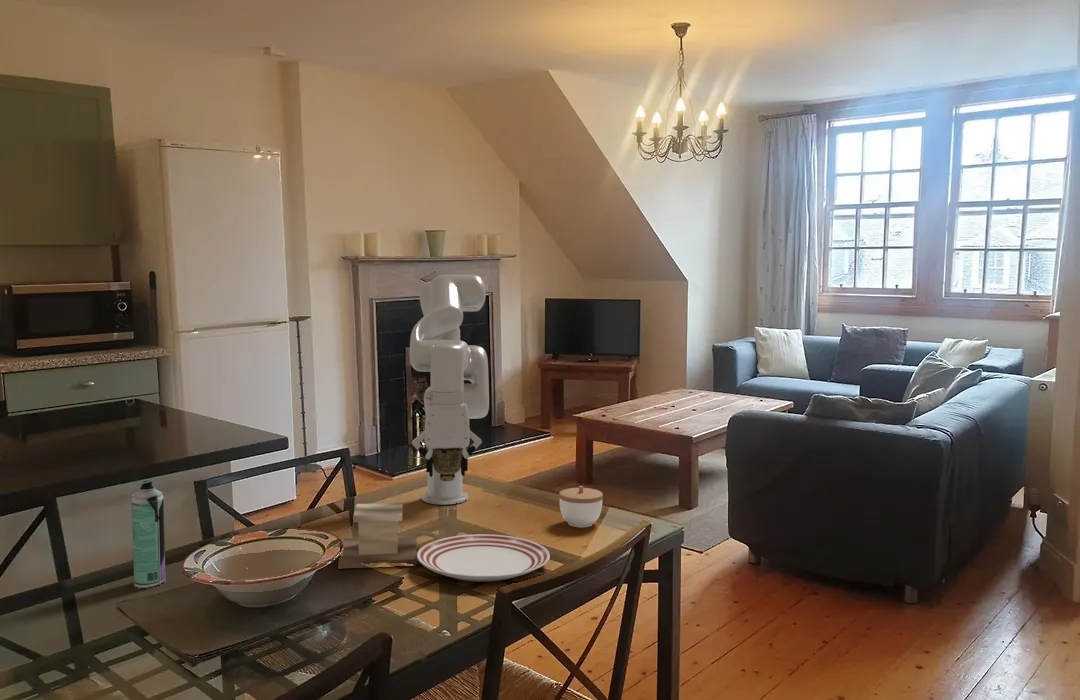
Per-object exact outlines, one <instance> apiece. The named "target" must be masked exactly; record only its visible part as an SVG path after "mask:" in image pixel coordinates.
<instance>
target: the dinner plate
mask: <svg viewBox="0 0 1080 700" xmlns="http://www.w3.org/2000/svg"><path fill="white" fill-rule="evenodd" d="M550 555H551V554H550V551H549V550H548V549H547V548H546V547H544V546H543V545H541V544H539V543H538V542H536V541H532V540H529V539H525V538H523V537H522V538H521V537H517V536H511V535H510V536H509V535H502V534H488V533H487V534H486V533H484V534H483V533H482V534H481V533H478V534H462V535H454V536H449V537H448V536H447V537H445V538H444V537H443V538H439V539H437V540H433V541H432V542H429V543H426V544H424V545H423V546H422V547H420V549H418V550H417V561H418V562H419V563H420V564H421V565H422V566H424V567H425V568H426V569H428V570H430V571H433V572H434V573H437V574H438V575H439V574H440V575H442V576H445V577H447V578H448V577H449V578H453V579H455V580H460V581H466V582H477V583H478V582H479V583H486V582H498V581H499V582H500V581H506V580H510V579H514V578H517V577H520V576H523V575H526V574H529V573H532V572H533V571H536V570H538V569H539V568H542V567H543V566H544V565H546V564H548V562H549V561H550V557H551V556H550Z"/></svg>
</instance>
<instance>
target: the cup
mask: <svg viewBox="0 0 1080 700" xmlns="http://www.w3.org/2000/svg"><path fill="white" fill-rule="evenodd" d="M462 451H463V448H462V450H461V449H460V448H459V449H433V454H432V459H433V466H434V469H435V471H436V472H437V473H439V474H440V476H439V478H440V480H441V481H445V482H449V481H453V480H454V479H455V473H457V472H458V471H459V470H460V468H461V463H462V456H463V454H462Z"/></svg>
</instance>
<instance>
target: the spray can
mask: <svg viewBox="0 0 1080 700" xmlns="http://www.w3.org/2000/svg"><path fill="white" fill-rule="evenodd" d="M131 497H132V498H131V528H132V531H131V533H132V556H133V557H132V560H133V561H132V564H133V568H132V569H133V586H134V587H135V588H136V587H137V589H141V588H144V587H150V586H154V585H157V584H159V583H161V582H163V581H164V580H165V581H166V551H165V550H166V549H165V548H166V547H165V516H164V515H165V512H164V511H165V510H164V508H165V507H164V495H163V491H161V490H159V489H156V487H155V486H154V485H153V481H152V480H144V481H143V482H142V483H141V486H140V487H139V489H138V490H137V491H136V492H134V493H133V494H131Z"/></svg>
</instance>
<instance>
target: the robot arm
mask: <svg viewBox="0 0 1080 700" xmlns="http://www.w3.org/2000/svg"><path fill="white" fill-rule="evenodd" d="M486 292H487V291H486V286H485V282H484V280H483V279H482V278H481V277H480V276H479V275H476V274H441V275H436V277H434V278H433V279H432V280H431V281H430V280H429V281H426V282H425V283H424V282H423V284H422V285H420V288H419V303H420V308H421V311H422V314H423V317H421V319H419V320H417V323H416V324H414V326H413V328H412V331H411V334H410V339H409V340H410V341H409V362H410V366H411V367H412V368H413V370H415V371H416V372H420V373H421V372H423V373H424V372H426V373H427V372H428V373H430V386H428V387H427V388H426V389H425V391H424V393H423V394H424V395H423V405H424V410H425V418H424V420H425V421H424V430H423V431H422V432H421V433H420V434H418V435H417V436H416V437H414V439H413V440H412V441H411V445H412V446H413V447H414V448H415V449H416V450H417V451H418V452H419V453H420V454H421V456H423V458H425V462H426V464H425V467H426V468H425V469H426V470H425V471H426V473H427V475H426V476H427V477H426V480H427V481H426V483H427V484H426V485H427V486H426V487H427V489H426V490H427V491H426V492H423V493H422V494H421V501H423V502H424V503H427V504H431V505H438V506H443V505H444V506H447V505H455V504H456V503H457V504H460V503H464V502H466V501H468V499H469V494H468V493H467V492H466V491H463V477H465V474H466V472H468V468H469V467H468V464H469V461H468V459H469V458H470V457H471V456H472V454H473V453H474V452H476V450H477V449H478V448H479V447H480V445H481V444H482V439H481V438H480V437H479V436H478V435H476V434H475V433H474V432H473V431H472V430H471V428H470V420H471V419H472V420H473V419H475V420H477V419H478V420H479V419H483V418H485V417H486V416H487V415H488V413H489V409H490V391H489V390H490V388H489V387H490V385H489V380H490V379H489V362H488V361H489V359H488V355H487V352H486V350H485V349H484V348H483V346H479V345H469V344H467V341H466V342H465V341H463V340H461V329H460V326H462V323H463V321H464V312H479V311H481V309H482V308H483V306H484V305H485V301H486V295H487V294H486ZM464 381H469V382H471V383H465V382H464ZM470 439H471V440H472V441H473V443H472V444H470ZM422 441H424V445H425V446H423V445H422V444H421V442H422ZM425 447H426V448H425ZM459 448H460V449H461V450H462V448H463V451H462V454H463V456H462V463H461V468H460V470H459V471H458V472H457V473H455V479H454V480H453V481H449V482H445V481H441V480H440V478H439V476H440V474H439V473H437V472H436V471H435V469H434V466H433V459H432V454H433V449H459ZM465 500H466V501H465ZM457 504H456V505H457Z"/></svg>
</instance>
